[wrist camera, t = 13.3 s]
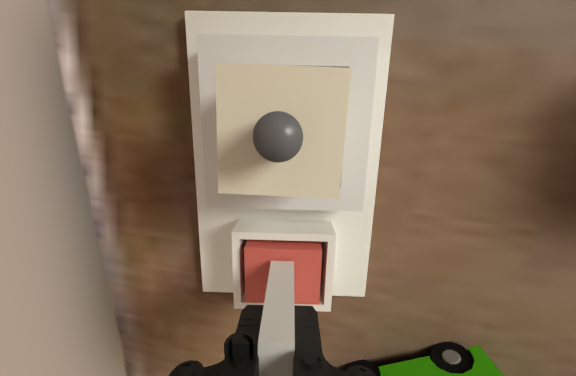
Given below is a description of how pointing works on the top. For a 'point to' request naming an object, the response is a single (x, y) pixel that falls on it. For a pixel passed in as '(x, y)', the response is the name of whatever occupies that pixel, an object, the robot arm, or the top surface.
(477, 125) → the top surface
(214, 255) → the socket plate
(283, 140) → the plug
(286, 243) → the switch
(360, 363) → the toy car
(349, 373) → the robot arm
